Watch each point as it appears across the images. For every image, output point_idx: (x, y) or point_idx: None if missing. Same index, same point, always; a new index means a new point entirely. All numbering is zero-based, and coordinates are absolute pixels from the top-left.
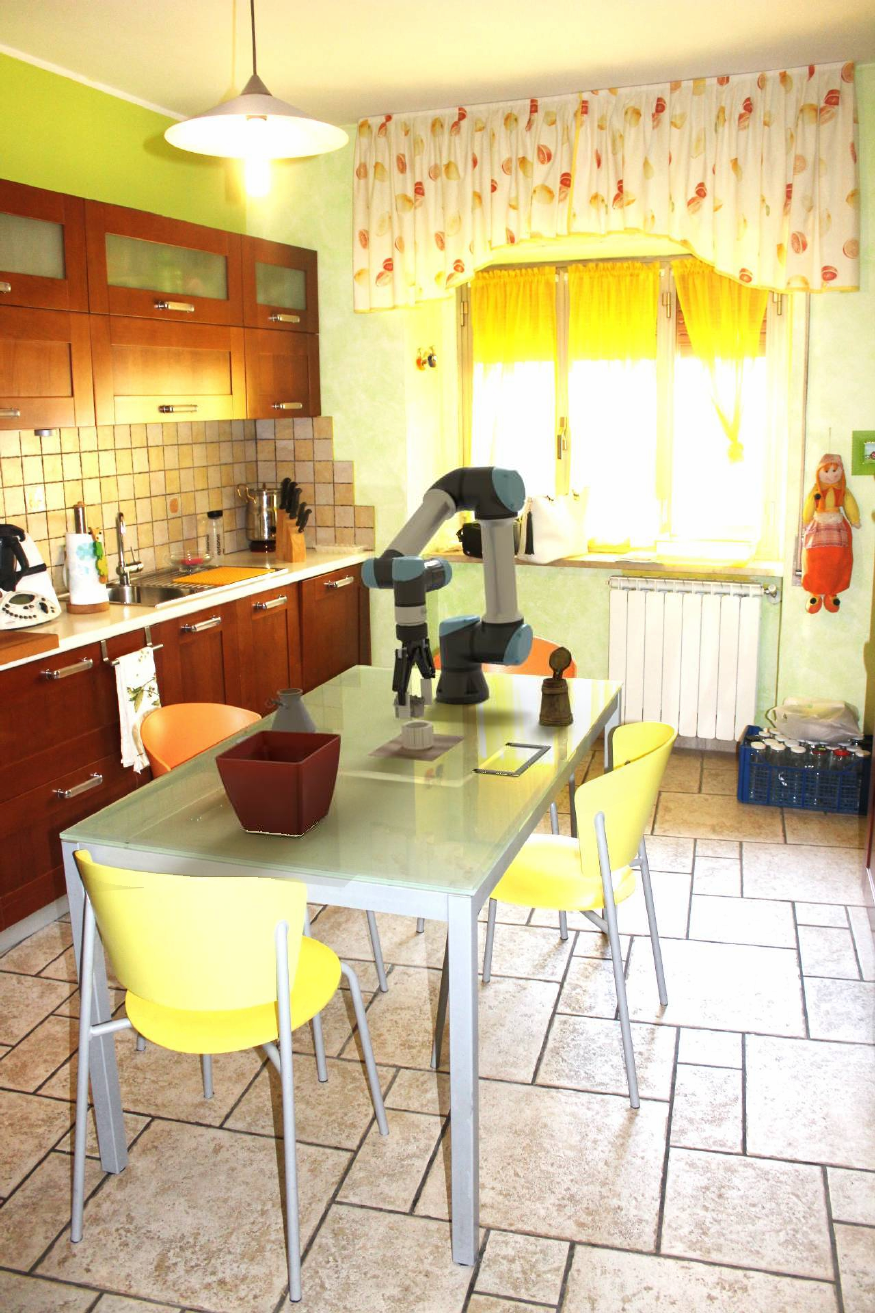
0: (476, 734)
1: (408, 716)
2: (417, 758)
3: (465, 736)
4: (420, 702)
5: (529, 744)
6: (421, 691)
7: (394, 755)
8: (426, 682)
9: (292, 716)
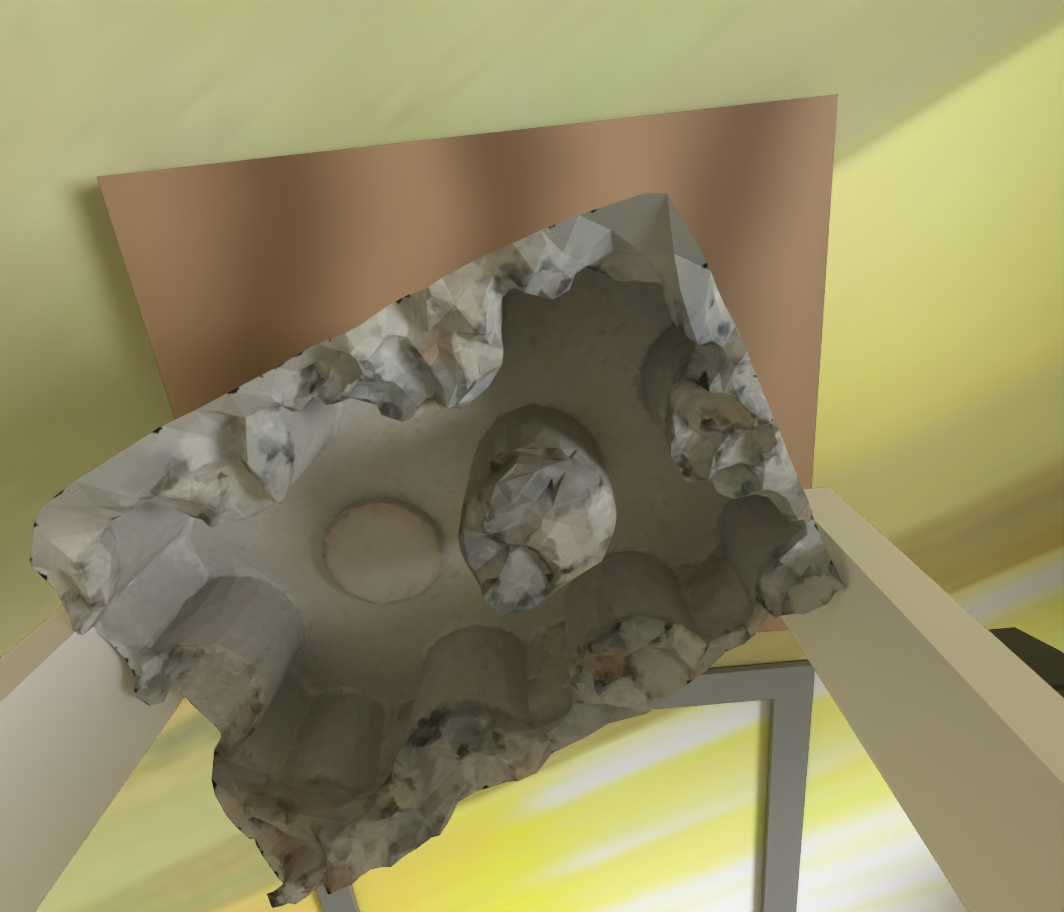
0: (950, 591)
1: None
2: None
3: None
4: (286, 875)
5: (794, 899)
6: (888, 611)
7: (214, 398)
8: (1000, 864)
9: None
